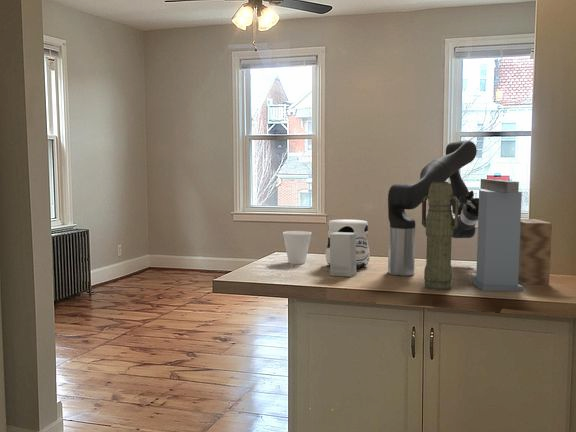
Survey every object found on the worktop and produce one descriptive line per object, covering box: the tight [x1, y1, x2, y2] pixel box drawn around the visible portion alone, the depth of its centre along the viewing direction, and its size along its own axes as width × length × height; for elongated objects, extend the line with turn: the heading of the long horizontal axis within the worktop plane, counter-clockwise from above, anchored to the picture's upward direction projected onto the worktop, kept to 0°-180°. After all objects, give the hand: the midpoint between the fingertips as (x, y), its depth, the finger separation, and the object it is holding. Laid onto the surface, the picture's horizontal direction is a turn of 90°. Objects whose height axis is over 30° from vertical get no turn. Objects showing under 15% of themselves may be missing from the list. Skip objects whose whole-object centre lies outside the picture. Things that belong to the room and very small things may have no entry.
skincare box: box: [329, 232, 357, 278], centre depth 221 cm, size 8×7×16 cm
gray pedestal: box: [471, 189, 524, 292], centre depth 201 cm, size 13×13×32 cm
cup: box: [282, 230, 313, 265], centre depth 247 cm, size 12×12×12 cm
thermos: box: [421, 181, 459, 291], centre depth 200 cm, size 9×12×35 cm
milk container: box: [325, 218, 371, 269], centre depth 239 cm, size 17×17×18 cm
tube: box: [479, 178, 520, 193], centre depth 202 cm, size 28×4×4 cm, turn 179°
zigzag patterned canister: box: [518, 218, 553, 285], centre depth 213 cm, size 9×14×21 cm, turn 179°
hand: (484, 192), depth 217 cm, fingers open, 8 cm apart
